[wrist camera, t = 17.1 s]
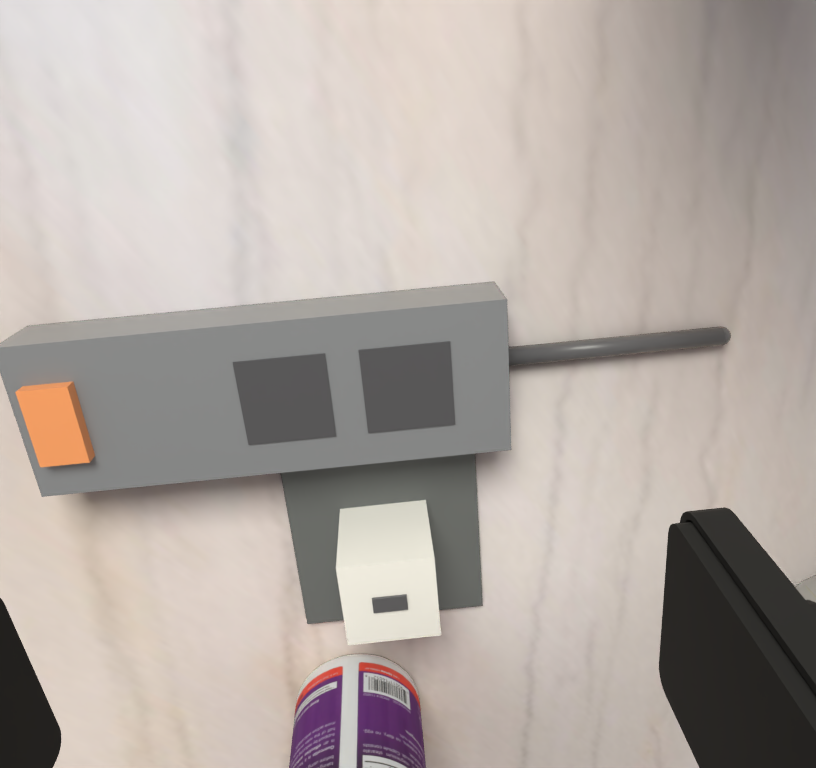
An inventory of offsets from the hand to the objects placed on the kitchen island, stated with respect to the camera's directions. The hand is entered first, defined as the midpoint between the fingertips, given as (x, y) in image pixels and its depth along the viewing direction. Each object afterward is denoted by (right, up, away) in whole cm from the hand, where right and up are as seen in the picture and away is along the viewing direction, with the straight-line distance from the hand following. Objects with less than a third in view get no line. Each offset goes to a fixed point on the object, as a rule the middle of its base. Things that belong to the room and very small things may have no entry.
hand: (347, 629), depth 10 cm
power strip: (0, +5, +27) cm, 27 cm away
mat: (0, -6, +31) cm, 31 cm away
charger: (0, -6, +30) cm, 31 cm away
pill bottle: (-2, -17, +36) cm, 39 cm away
